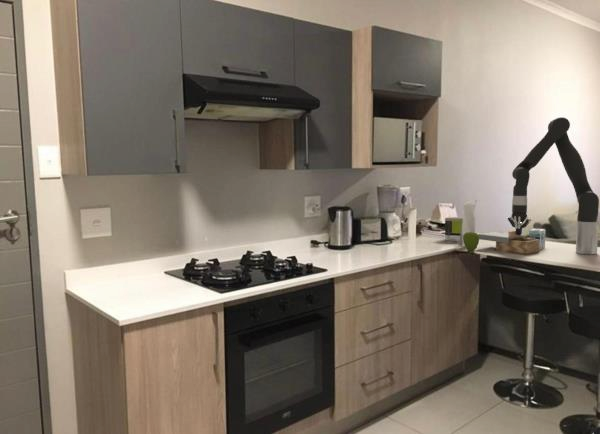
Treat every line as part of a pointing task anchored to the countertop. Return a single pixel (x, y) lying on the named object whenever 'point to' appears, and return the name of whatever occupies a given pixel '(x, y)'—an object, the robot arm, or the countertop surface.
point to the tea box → (453, 228)
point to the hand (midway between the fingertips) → (518, 235)
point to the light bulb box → (538, 236)
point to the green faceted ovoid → (471, 241)
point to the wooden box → (519, 246)
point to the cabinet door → (499, 236)
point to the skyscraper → (467, 220)
